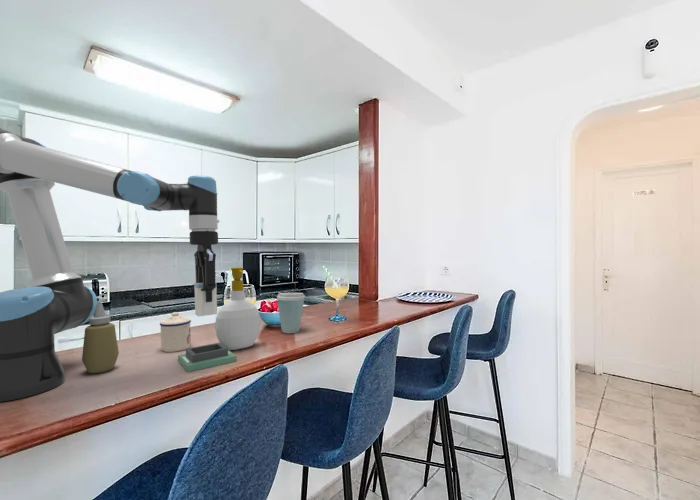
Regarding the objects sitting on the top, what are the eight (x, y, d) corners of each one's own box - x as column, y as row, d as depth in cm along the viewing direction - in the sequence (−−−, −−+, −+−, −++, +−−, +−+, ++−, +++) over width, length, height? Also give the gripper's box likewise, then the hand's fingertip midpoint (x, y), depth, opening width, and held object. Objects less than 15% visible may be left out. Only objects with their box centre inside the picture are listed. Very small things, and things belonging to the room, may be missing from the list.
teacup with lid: (194, 348, 111) (193, 312, 111) (163, 354, 105) (162, 316, 105) (185, 340, 120) (185, 307, 120) (156, 345, 115) (155, 311, 115)
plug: (198, 316, 95) (197, 284, 95) (195, 314, 99) (194, 283, 99) (218, 313, 99) (217, 282, 99) (214, 311, 102) (213, 281, 102)
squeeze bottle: (81, 369, 93) (79, 303, 93) (117, 362, 98) (115, 300, 98) (82, 378, 87) (81, 307, 87) (120, 370, 92) (119, 303, 92)
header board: (187, 372, 90) (187, 358, 90) (178, 360, 100) (177, 348, 100) (236, 361, 98) (236, 348, 98) (223, 351, 108) (223, 340, 107)
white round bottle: (219, 355, 103) (218, 269, 102) (212, 348, 110) (210, 267, 110) (265, 347, 111) (264, 266, 111) (256, 341, 118) (254, 265, 118)
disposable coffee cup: (277, 328, 135) (276, 291, 135) (305, 327, 137) (304, 289, 137) (276, 335, 125) (276, 294, 124) (306, 334, 127) (305, 293, 126)
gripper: (226, 229, 94) (228, 314, 94) (209, 232, 107) (211, 306, 108) (197, 229, 89) (199, 318, 89) (183, 232, 103) (185, 309, 103)
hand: (206, 311), depth 99 cm, fingers closed on plug, 4 cm apart
